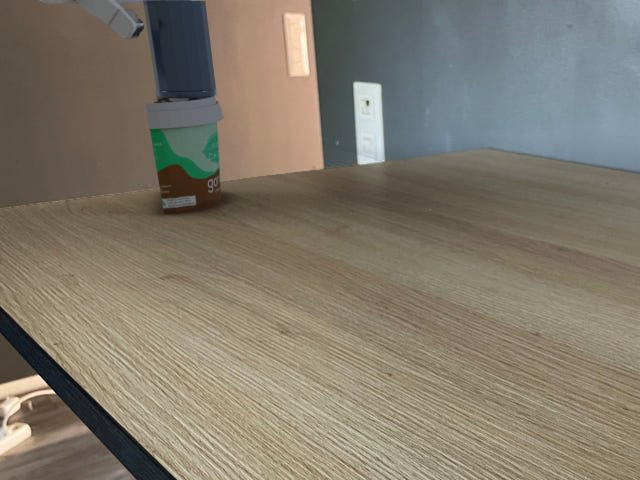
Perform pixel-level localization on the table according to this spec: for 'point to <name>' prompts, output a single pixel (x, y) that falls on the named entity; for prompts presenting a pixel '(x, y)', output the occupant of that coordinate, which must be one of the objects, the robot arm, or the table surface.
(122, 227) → the table surface
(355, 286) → the table surface
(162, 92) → the cup
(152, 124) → the food container
